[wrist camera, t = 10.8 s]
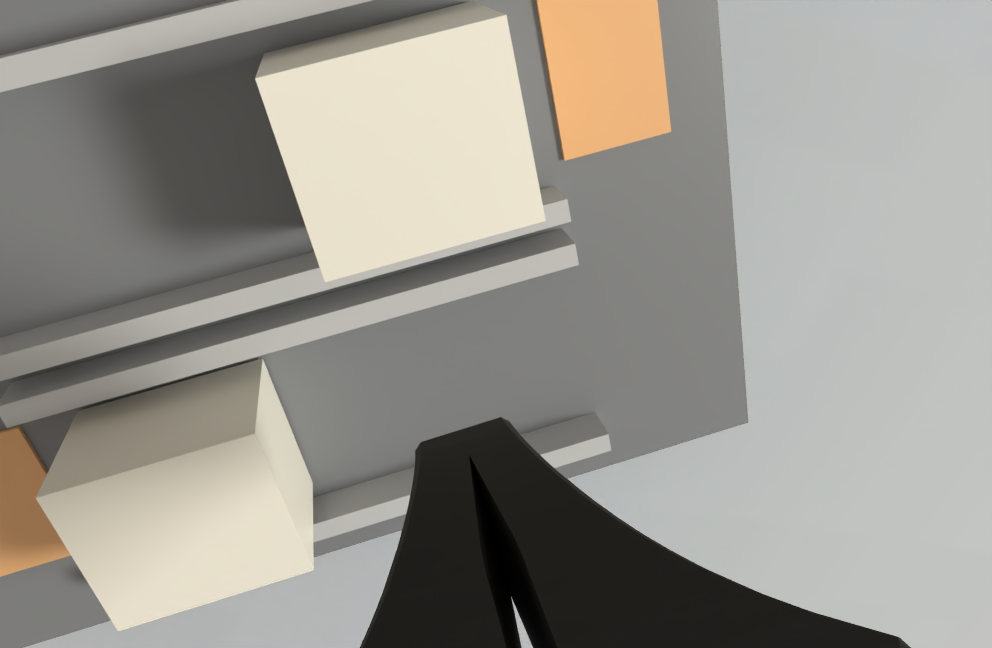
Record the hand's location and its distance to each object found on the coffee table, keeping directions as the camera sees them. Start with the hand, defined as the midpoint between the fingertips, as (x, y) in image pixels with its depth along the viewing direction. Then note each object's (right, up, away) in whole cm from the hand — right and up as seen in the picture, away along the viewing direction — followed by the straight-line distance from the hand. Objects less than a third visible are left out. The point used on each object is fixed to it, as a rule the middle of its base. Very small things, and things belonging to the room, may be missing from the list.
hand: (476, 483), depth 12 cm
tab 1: (-6, 0, +6) cm, 9 cm away
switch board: (-4, +4, +7) cm, 9 cm away
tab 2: (-2, +6, +4) cm, 8 cm away
